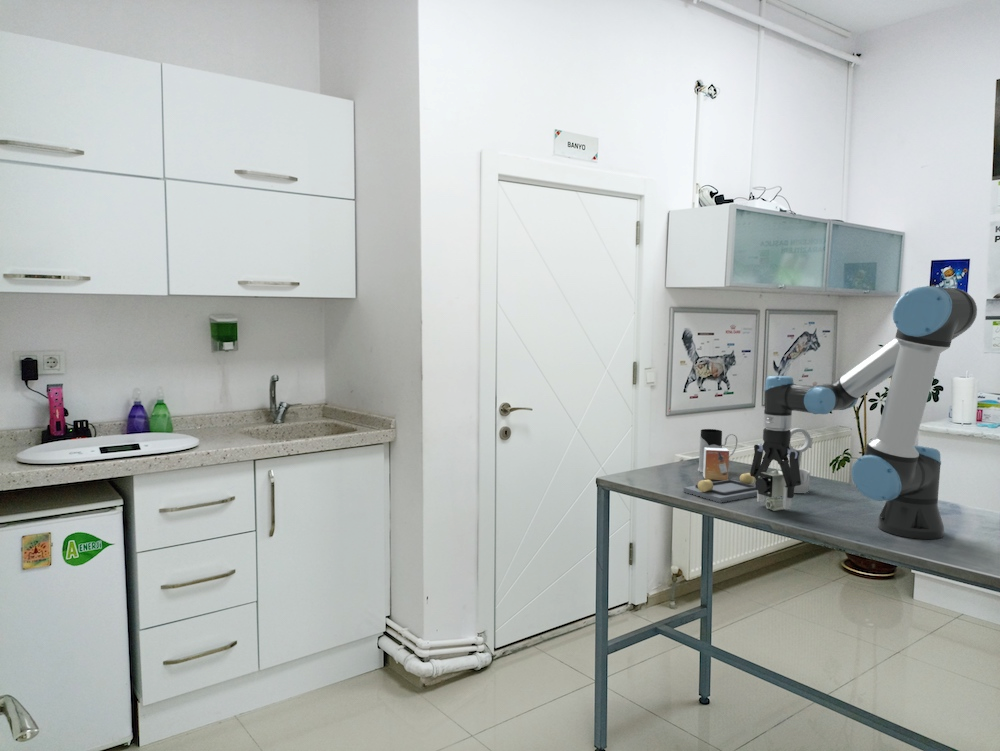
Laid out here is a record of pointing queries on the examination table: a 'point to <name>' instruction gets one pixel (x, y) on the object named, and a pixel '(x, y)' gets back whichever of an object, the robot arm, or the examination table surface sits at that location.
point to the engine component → (803, 473)
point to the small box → (716, 463)
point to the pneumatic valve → (771, 488)
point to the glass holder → (711, 443)
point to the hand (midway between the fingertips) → (773, 504)
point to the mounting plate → (724, 489)
